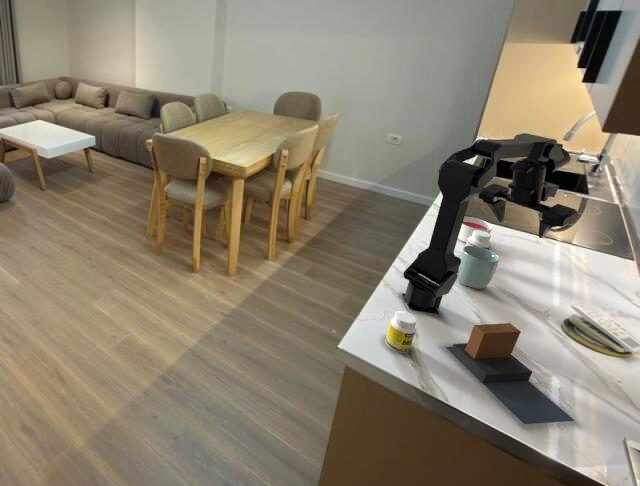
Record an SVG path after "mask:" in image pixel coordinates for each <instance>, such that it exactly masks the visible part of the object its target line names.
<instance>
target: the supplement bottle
mask: <svg viewBox="0 0 640 486" xmlns="http://www.w3.org/2000/svg"><path fill="white" fill-rule="evenodd" d="M416 324H417V318H416V317H415V316H414V315H412V314H411V313H409V312H407V311H404V310H398V311H395V312H394V316H393V318H391V320H390V322H389V326H388V330H387V333H386V336H385V340H384V342H385V344H386V345H387V347H388V348H390V349H391V350H393V351H395V352H397V353H403V354H405V353H408V352H409V351H410V349H411V346H412V343H413V340H414V338H415V334H416V331H417V328H416Z"/></svg>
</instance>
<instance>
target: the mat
mask: <svg viewBox="0 0 640 486" xmlns="http://www.w3.org/2000/svg"><path fill="white" fill-rule="evenodd" d="M452 347H453V346H445V348H446V349H447V350H448V352H450V353H451V350H452ZM466 369H467V370H468V372H470V373H471V374H472V375H473V376H474V377H475V378H476V379H477V380H478V381H479V382H480V383H481V384H482V385H483V386H484V387H485V388H486V389H487V390H488V391H489V392H491V394H493V396H495V398H497V399H498V401H500V403H502V404H503V405H504V407H506V408H507V409H508V410H509V411H510V412H511V413H512V414H513V415H514V416H515V417H516V418H517V419H518V420H519V421H520V422H521V423H522V424H523V425H531V424H532V425H533V424H547V423H560V422H574V421H575V419H574V418H572V417H571V416H570V415H569V414H568V413H567V412H566V411H564V410H563V409H562V408H561V407H560V406H558V404H556V403H555V402H554V401H553V400H552V399H551V398H549V397H548V396H547V395H546V394H544V392H542V391H541V390H540V389H539V388H538V387H537V386H536V385H534V384H533V383H532V382H531V381H530V380H528V381H513V382H496V383H482V382H481V381H480V380H479V379H478V378H477V377H476V376H475V375H474V374H473V373H472V372H471V371H470V370H469V369H468V368H466Z"/></svg>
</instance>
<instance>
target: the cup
mask: <svg viewBox="0 0 640 486" xmlns="http://www.w3.org/2000/svg"><path fill="white" fill-rule="evenodd" d="M459 258H460V259H461V264H460V267H459V272H458V273H457V275H458V277H457V280H458V281H459V282H460V283H461V284H463V285H464V286H467V287H469V288H473V289H484V288H486V287H487V286H488V285H490V284H491V281H492V280H493V278H494V275H495V273H496V271H497V269H498V266H499V263H500V257H499V255H498V254H497V253H496V252H494V251H492V250H490V249H489V250H487V249H484V248H481V247H476V246H466V245H465V246H463V247H462V249H461V252H460V254H459Z"/></svg>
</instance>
